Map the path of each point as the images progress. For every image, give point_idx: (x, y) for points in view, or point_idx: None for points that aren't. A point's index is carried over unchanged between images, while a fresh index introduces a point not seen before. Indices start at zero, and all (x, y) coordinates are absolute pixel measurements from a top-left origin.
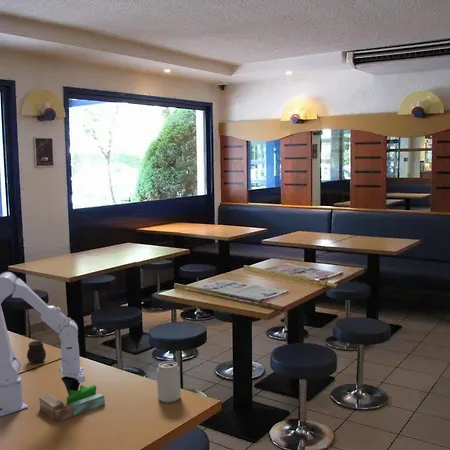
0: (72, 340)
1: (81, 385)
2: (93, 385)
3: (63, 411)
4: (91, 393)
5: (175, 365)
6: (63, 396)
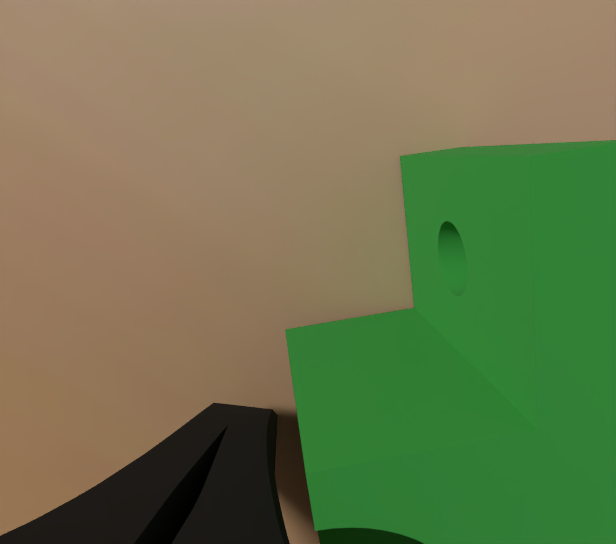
0: None
1: (320, 496)
2: (544, 196)
3: None
4: (453, 225)
5: None
6: (31, 428)
